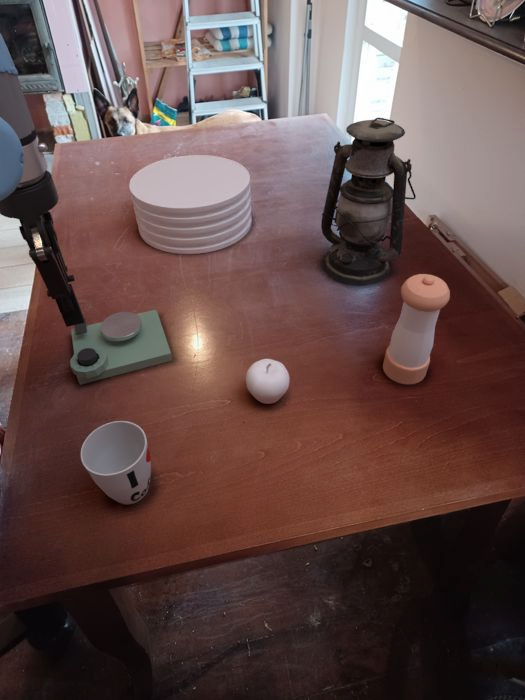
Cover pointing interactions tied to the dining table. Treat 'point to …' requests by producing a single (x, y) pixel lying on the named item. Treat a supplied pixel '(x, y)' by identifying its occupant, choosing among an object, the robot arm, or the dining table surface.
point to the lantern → (365, 204)
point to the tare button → (87, 357)
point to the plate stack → (192, 203)
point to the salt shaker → (415, 328)
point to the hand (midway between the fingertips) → (75, 321)
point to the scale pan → (116, 326)
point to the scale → (121, 350)
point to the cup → (118, 460)
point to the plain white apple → (267, 380)
